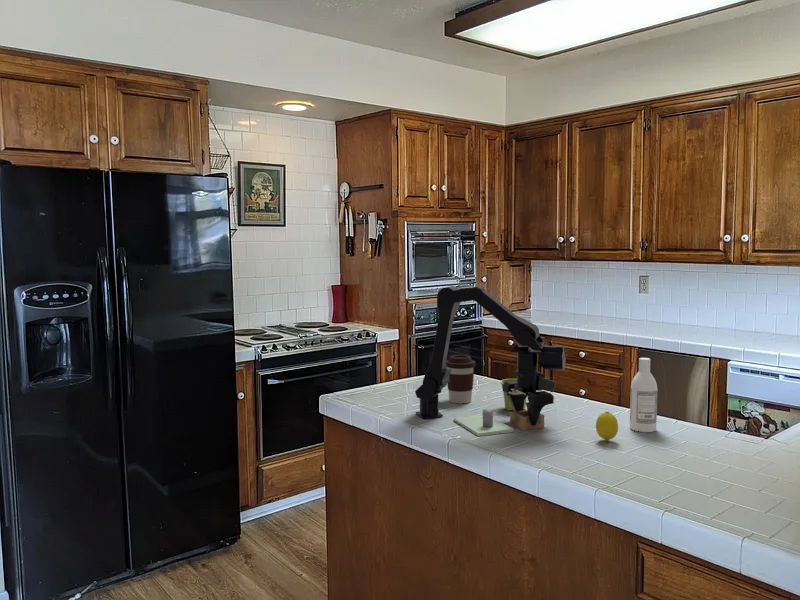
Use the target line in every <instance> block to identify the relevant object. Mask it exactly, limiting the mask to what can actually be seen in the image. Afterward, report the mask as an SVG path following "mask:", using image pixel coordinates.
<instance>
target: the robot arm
mask: <svg viewBox="0 0 800 600" xmlns="http://www.w3.org/2000/svg"><path fill="white" fill-rule="evenodd" d="M470 301H475V302H476V303H477V304H478V305H479V306H481V307H482V308H483V309H485V311H486V312H488V313H489V314H490V315H492V317H494V318H495V319H496V320H497V321H499V322H500V323H501V324H502V325H504V326H505V328H507V330H508V332H509V333H510V334H511V336H512V337H513V338H514V339H515V341H517V342H516V343H515V344H514V346H513V347H512V348H511V349H510V350H509V352H510V353H517V354H516V355H517V357H516V359H517V360H516V361H517V363H516V370H513V374H514V375H516V379H517V381H507V382H505V383H504V384H503V388H502V392H503V391H504V392H506V393H507V394H506V395H507V396H508V398H509V400H510V402H511V404H512V406H513V408H514V410H515V411H521V410H523V408H524V400H525V398H526V397H527V401H528V402H527V401H526V405H525V407H526V410H528V414H529V418H530V421H531V424H532V426H534V425H536V423H537V420H538V417H539V415H540V414H541V412H542V410H543V408H544V407H545V406H549V405H554V403H555V397H554V394H553V393H554V391H555V387H556V385H557V382H556V381H554V380H551V379H548V378H546V375H545V374H544V373H541V372H540V371H538V370H539V369H538V366H540V368H542V369H543V370H547V371H563V372H564V371H565V367H566V361H567V360H566V357H567V356H566V355H565V354H566V352H565V347H564V345H547V343H546V341H544V339H543V338H542V337H541V336H540V329H539V327H538V326H537V325H536V324H534V323H533V322H531V321H529V320H527V319H525V318H523V317H520V316H519V315H517V314H515V313H514V312H513V311H512V310H510V308H508V307H506V305H504V304H503V303H501V302H500V301H499V300H498V299H496V298H495V297H494V296H493V295H492V294H490V293H489V292H488V291H487V290H486V288H484V287H483V286H482V285H481V286H480V285H478V286H475V287H473V286H472V287H465V288H464V287H463V288H459V287H458V286H455V285H451V286H446V287H442V288H441V289H439V290H438V292H437V295H436V308H437V313H438V320H437V325H436V331H435V337H434V344H433V348H432V349H433V350H432V353H431V355H432V356H431V360H430V362H429V363H430V364H429V365H428V367H427V369H426V370H425V374H424V376H423V379H422V384H421V385H420V386H419V387H418V388H417V389H416V390H415V396H416V398H417V399H419V411H416V412H415V414H416V415H417V416H418V417H420V418H422V419H424V420H426V419H431V418H433V419H434V418H443V416H444V415H443V414H442V413H440V412H439V409H440V408H439V403H440V402H439V394H441V393H442V390H443V389H444V388H446V386H448V385H447V383H448V382H450V380H449V376H450V373H451V369H447V366H446V360H448V359H447V358H448V352H449V346H450V340H451V334H452V328H453V324H454V318H455V315H456V314H457V312H458V310H459V308H460V305H461V303H463V302H470ZM545 390H546V391H545ZM548 391H549V392H548ZM514 410H513V411H514Z"/></svg>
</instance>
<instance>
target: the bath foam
mask: <svg viewBox="0 0 800 600" xmlns="http://www.w3.org/2000/svg"><path fill="white" fill-rule="evenodd" d="M629 394H630V398H629V399H630V400H629V403H630V404H629V428H630V429H631V430H632V431H634V430H635V431H634V432H638V431H639V432H638V433H653V431H654V432H655V431H657V420H658V419H657V417H658V416H657V415H658V385H657V381H656V379H655V377H654V376H653V374H652V373H651V358H650V357H639V358H638V371H637V373H636V374H635V375H634V377H633V378H632V381H631V384H630V393H629Z"/></svg>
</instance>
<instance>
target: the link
mask: <svg viewBox="0 0 800 600" xmlns="http://www.w3.org/2000/svg"><path fill="white" fill-rule="evenodd" d="M509 412H510V413H509V425H512V426H513V427H516V428H517V429H519V430H521V431H527V430H536V429H543V428H545V415H544V414H542V413H540V415H539V417H538V420H537V423H536V425H534V426H532V424H531V421H530V418H529V414H528V410H527V409H524V410H521V411H514V410H511V411H509Z"/></svg>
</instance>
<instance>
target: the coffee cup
mask: <svg viewBox="0 0 800 600" xmlns="http://www.w3.org/2000/svg"><path fill="white" fill-rule="evenodd" d="M446 366H447V369H451V373H450V376H449V380H450V382H448V383H447V385H446V386H447V389H448V400H449V401H448V402H450V403H452V404H457V403H459V405H461V404H462V403H465V404H469V403H471V401H472V395H473V388H474V375H475V372H474V368H475V367H476V361H475V360H473V359H472V357H471V356H470V355H465V354H454V355H449V358H448V359H446Z"/></svg>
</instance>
